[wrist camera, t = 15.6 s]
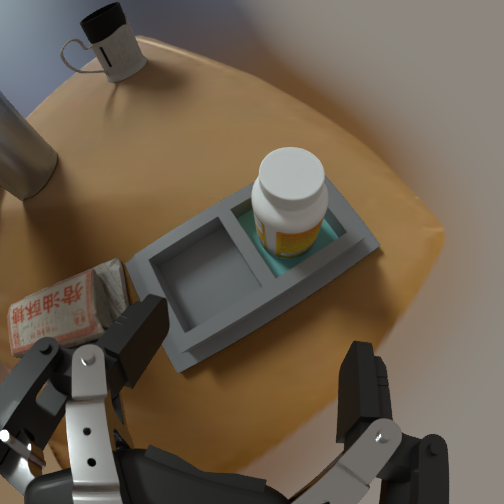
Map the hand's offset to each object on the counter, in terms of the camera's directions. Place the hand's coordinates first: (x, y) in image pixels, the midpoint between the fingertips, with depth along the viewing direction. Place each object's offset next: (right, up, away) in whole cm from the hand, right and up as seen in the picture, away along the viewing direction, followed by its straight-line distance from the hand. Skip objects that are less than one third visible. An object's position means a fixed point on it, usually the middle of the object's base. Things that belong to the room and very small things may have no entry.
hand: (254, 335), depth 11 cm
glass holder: (-26, +37, +28) cm, 53 cm away
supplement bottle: (+3, +5, +14) cm, 15 cm away
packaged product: (-21, -5, +14) cm, 26 cm away
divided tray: (0, +3, +14) cm, 15 cm away
